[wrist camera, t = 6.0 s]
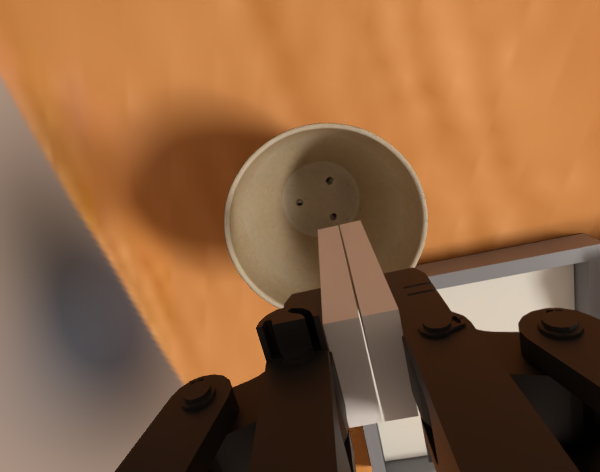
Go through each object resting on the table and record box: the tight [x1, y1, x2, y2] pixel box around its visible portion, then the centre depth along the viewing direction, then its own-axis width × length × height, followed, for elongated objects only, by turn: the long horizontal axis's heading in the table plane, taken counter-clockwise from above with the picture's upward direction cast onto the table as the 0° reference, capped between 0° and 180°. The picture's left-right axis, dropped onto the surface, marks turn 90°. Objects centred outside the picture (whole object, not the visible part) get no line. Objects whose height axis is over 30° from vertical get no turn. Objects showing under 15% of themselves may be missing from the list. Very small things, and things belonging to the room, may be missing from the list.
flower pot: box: [224, 123, 428, 313], centre depth 23 cm, size 10×10×7 cm
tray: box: [358, 233, 600, 472], centre depth 29 cm, size 17×17×2 cm
